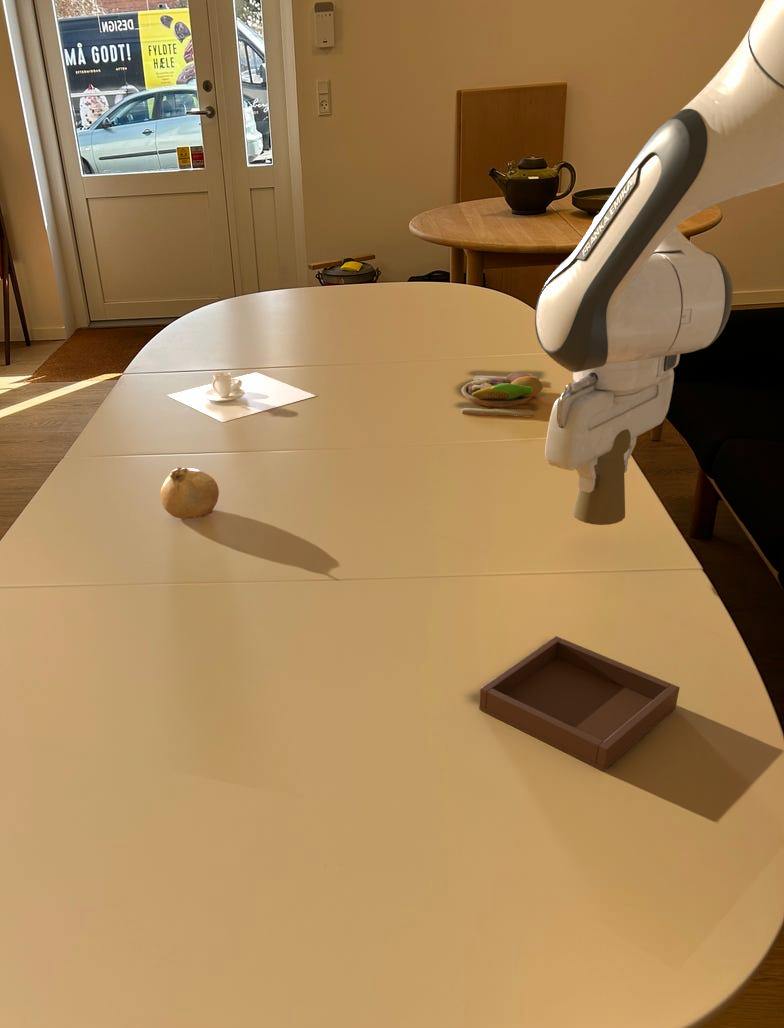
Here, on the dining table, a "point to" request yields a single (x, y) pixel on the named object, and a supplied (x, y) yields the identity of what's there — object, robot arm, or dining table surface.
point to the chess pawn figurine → (606, 487)
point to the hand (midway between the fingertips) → (602, 481)
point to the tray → (579, 701)
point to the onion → (189, 493)
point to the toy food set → (501, 393)
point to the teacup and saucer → (239, 395)
